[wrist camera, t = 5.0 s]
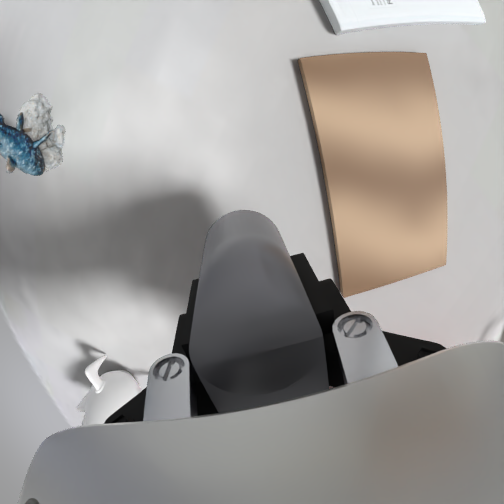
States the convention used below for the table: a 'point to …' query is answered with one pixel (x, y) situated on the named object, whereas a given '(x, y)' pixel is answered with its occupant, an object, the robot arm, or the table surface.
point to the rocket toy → (106, 393)
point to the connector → (253, 319)
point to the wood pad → (380, 164)
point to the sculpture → (32, 139)
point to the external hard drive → (399, 13)
